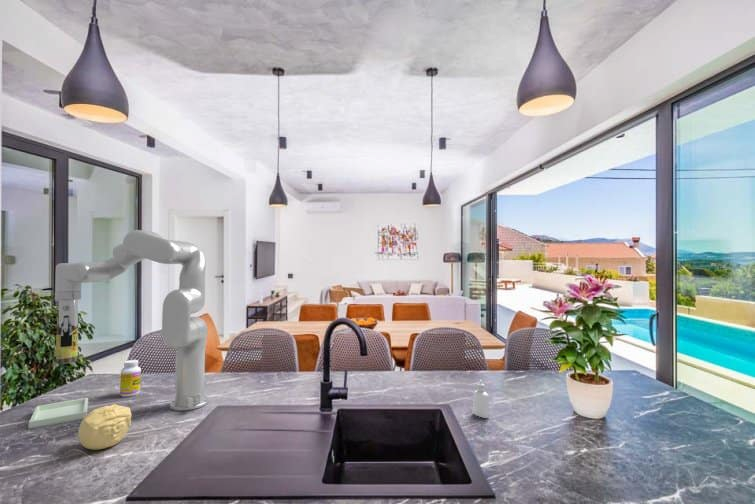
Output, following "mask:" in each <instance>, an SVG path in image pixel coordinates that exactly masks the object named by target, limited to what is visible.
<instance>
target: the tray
mask: <svg viewBox="0 0 755 504" xmlns="http://www.w3.org/2000/svg"><path fill="white" fill-rule="evenodd" d="M88 405H89V397H83V398H77V399H72V400H65V401H60V402H53V403H47V404H42V405H36V407H35V409H34V411H33V413H32V415H31V418H30V419H29V421H28V430H34V429H39V428H43V427H48V426H53V425H54V426H55V425H60V424H63V423H65V424H66V423H70V422H75V421H80V420H81V421H82V420H83V419H84V418H85V416H86V415H88V408H89V406H88Z"/></svg>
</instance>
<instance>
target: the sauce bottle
mask: <svg viewBox="0 0 755 504" xmlns="http://www.w3.org/2000/svg"><path fill="white" fill-rule="evenodd" d="M61 326H62V324H61ZM69 326H70V325H68V327H69ZM61 332H62V328H60V327H59V324H58V325H57V327H56V335H55V336H56V339H55V344H56V345H55V359H56V360H55V363H56V365H64V364H71V363H75V362H77V361H78V357H79V353H78V352H79V327H78V325H77V326H76V327H74V326H72V331H71V335H72V346H68V347H61Z"/></svg>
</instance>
